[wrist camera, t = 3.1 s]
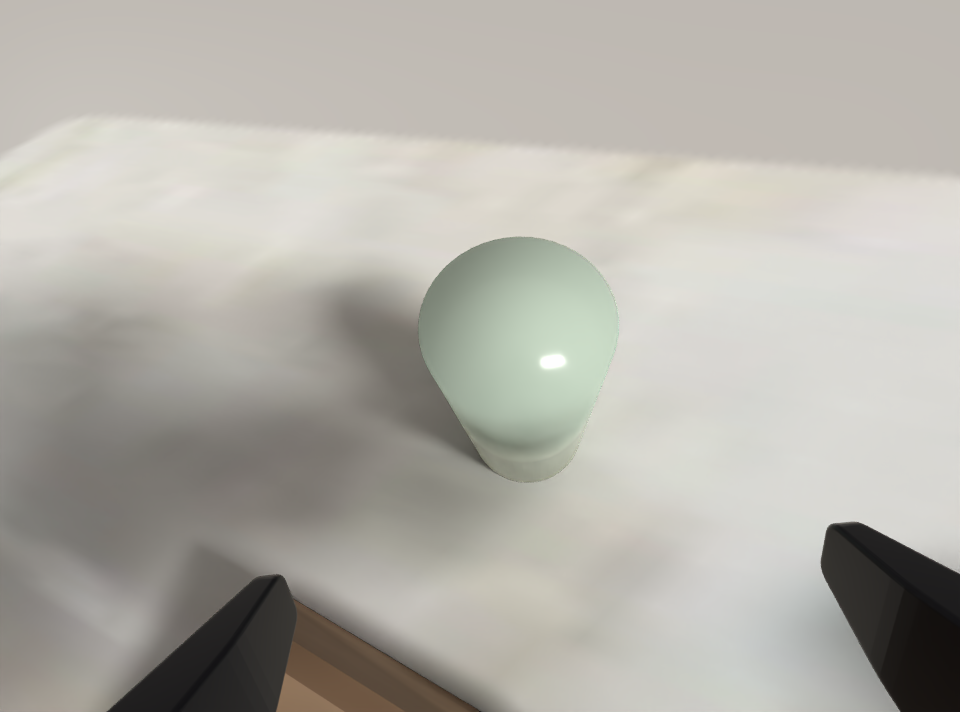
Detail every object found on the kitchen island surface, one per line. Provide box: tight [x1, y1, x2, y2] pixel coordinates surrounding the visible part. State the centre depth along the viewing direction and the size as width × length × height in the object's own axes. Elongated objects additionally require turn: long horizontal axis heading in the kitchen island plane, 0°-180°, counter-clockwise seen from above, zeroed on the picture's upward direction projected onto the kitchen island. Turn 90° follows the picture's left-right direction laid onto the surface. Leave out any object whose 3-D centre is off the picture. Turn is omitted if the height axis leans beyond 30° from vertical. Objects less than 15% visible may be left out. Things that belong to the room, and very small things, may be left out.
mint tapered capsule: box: [418, 237, 619, 483], centre depth 15 cm, size 4×4×10 cm
